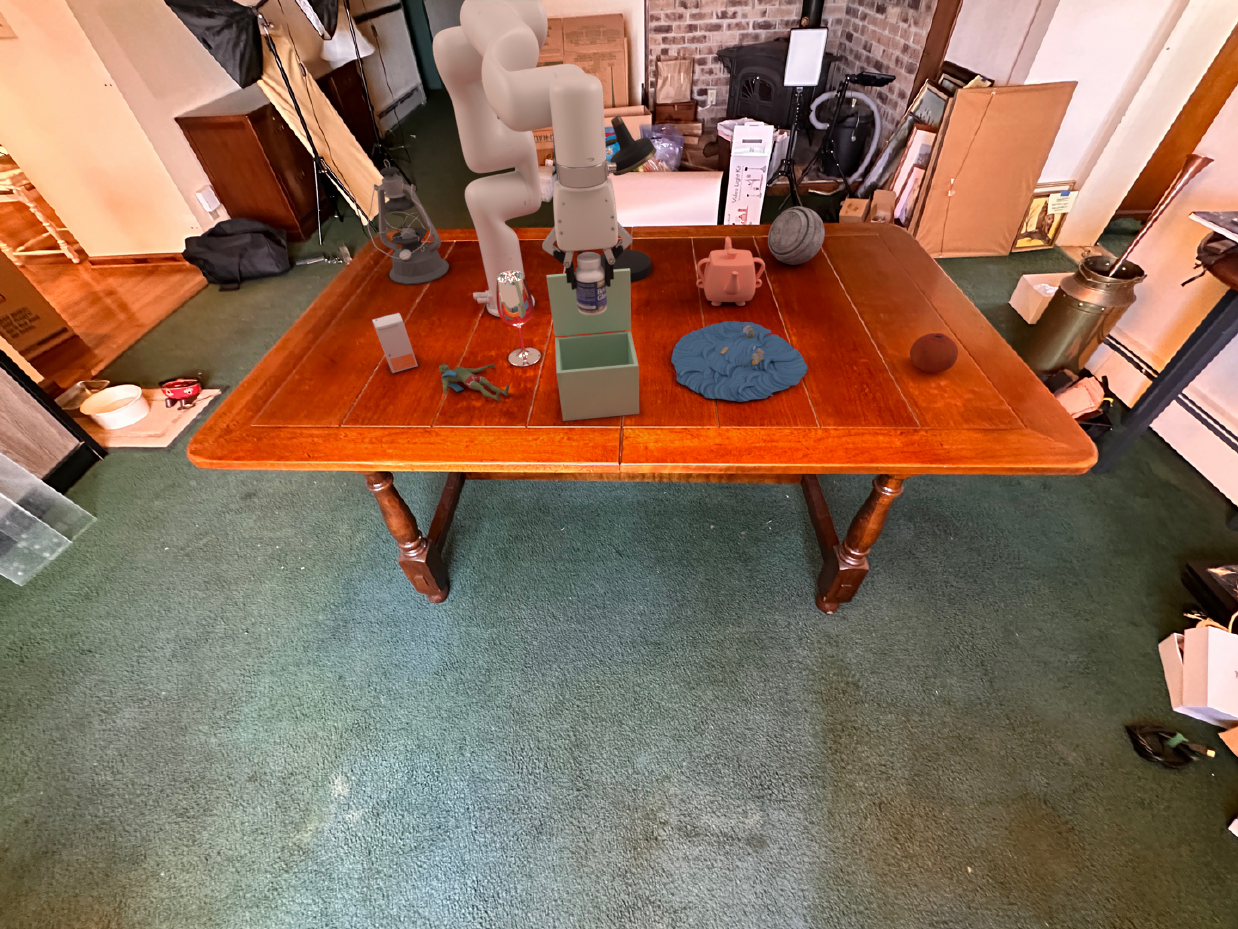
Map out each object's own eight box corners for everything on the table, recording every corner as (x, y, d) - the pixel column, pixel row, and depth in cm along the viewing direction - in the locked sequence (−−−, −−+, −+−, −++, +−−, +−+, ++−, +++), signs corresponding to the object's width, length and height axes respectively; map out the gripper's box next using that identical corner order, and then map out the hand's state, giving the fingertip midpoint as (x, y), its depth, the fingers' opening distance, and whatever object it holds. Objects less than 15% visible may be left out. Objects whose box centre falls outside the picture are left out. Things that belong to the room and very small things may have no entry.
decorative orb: (755, 258, 162) (762, 205, 152) (793, 246, 167) (803, 194, 156) (790, 278, 153) (800, 222, 142) (829, 265, 157) (842, 210, 147)
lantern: (384, 293, 155) (342, 178, 134) (388, 263, 169) (351, 154, 148) (450, 284, 157) (419, 169, 136) (448, 254, 171) (420, 146, 150)
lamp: (656, 281, 154) (658, 123, 127) (578, 284, 155) (563, 126, 128) (654, 256, 166) (655, 105, 138) (581, 258, 166) (568, 109, 139)
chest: (639, 413, 114) (638, 365, 105) (563, 421, 113) (556, 373, 105) (631, 377, 123) (630, 330, 114) (561, 384, 122) (555, 337, 114)
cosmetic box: (392, 374, 127) (374, 328, 118) (389, 365, 130) (371, 319, 121) (419, 366, 129) (403, 320, 120) (415, 357, 131) (399, 311, 123)
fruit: (896, 362, 123) (908, 330, 118) (928, 353, 125) (941, 321, 120) (926, 384, 117) (940, 351, 112) (958, 373, 119) (974, 341, 114)
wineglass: (546, 351, 131) (534, 270, 117) (532, 369, 126) (518, 287, 112) (517, 346, 133) (501, 265, 119) (501, 364, 128) (484, 282, 114)
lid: (630, 270, 104) (627, 257, 107) (546, 277, 103) (545, 264, 106) (630, 330, 114) (628, 316, 117) (554, 336, 113) (554, 323, 116)
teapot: (730, 319, 139) (736, 270, 130) (684, 295, 148) (686, 248, 139) (770, 299, 145) (778, 251, 136) (723, 277, 154) (728, 231, 146)
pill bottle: (603, 317, 98) (600, 264, 92) (574, 315, 99) (569, 262, 92) (610, 302, 102) (607, 250, 95) (581, 300, 103) (577, 248, 96)
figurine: (478, 402, 111) (412, 374, 117) (479, 418, 113) (415, 390, 120) (526, 372, 122) (464, 348, 128) (527, 388, 124) (465, 364, 131)
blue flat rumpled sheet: (795, 421, 112) (801, 401, 108) (654, 392, 120) (654, 372, 116) (814, 339, 131) (819, 320, 127) (690, 319, 139) (691, 300, 135)
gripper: (634, 161, 88) (636, 271, 101) (526, 169, 87) (541, 278, 100) (641, 177, 83) (642, 290, 95) (525, 185, 82) (541, 299, 94)
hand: (590, 283), depth 97 cm, fingers closed on pill bottle, 5 cm apart
